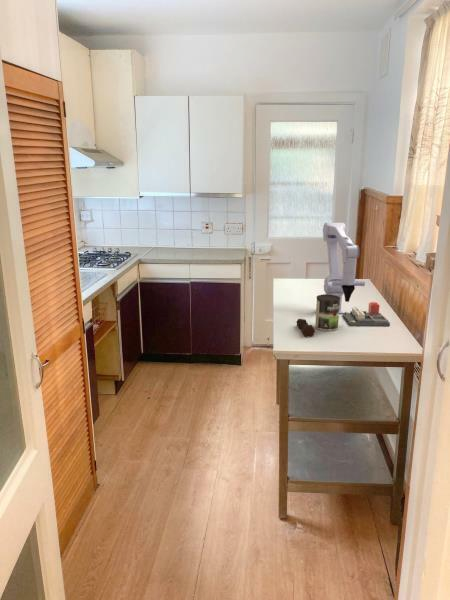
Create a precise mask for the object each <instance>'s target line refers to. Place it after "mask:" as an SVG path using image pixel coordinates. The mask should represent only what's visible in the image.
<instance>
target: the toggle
mask: <svg viewBox="0 0 450 600" xmlns="http://www.w3.org/2000/svg"><path fill="white" fill-rule="evenodd" d="M358 310H360V311H362V310H361V308H360V307H359V306H357V305H356V306H353V307H352V308H351V311H352V314H353V315H355V314H356V311H358Z"/></svg>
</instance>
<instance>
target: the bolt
mask: <svg viewBox="0 0 450 600" xmlns="http://www.w3.org/2000/svg"><path fill="white" fill-rule="evenodd" d="M296 326H297V328H298V329H299V330H301V331H300V332H301V333H302V335H303V336H304V337H305V338H310V337H313V336H314V334H315V333H316V330H315V329H316V328H315V327H314V326H313V325H312V324H308V321H307V319H303V318H298V319H296Z"/></svg>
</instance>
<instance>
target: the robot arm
mask: <svg viewBox="0 0 450 600" xmlns="http://www.w3.org/2000/svg"><path fill="white" fill-rule="evenodd" d="M322 226H323V227H322V236H323V241H324V242H326V247H327V259H328V271H329V275H327V276H326V277H325V278H324V279H323V291H324V294H322V295H325V294H327V295H335V296H338V297H340V304H339V315H340V314H342V315H343V313H344V311H343V310H342V301H343V300H342V299H343V296H344V301H345V302H347V303H349V302H350V299H351V297H352V294H353V293H354V291H355V289H356V287H365V286H366V282H365V281H362V280H356V272H357V271H356V270H357V260H358V258H359V257H360V247H359V245H358V244H354V243H353V241H352V239H351V238H350V237H349V235H348V236H347V235H346V231H347V228H346V224H345V223H344V222H342V221H341V222H324V223H323V225H322ZM338 246H339V248H340V249H341V258H342V275H341V274H340V262H339V250H338Z"/></svg>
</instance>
